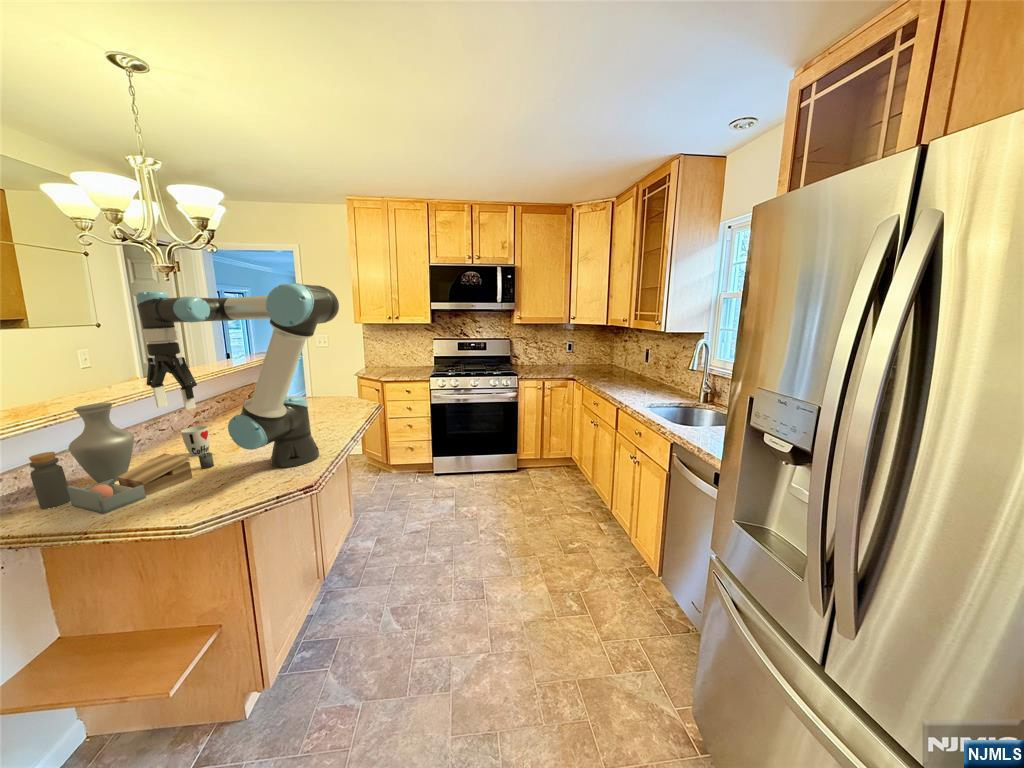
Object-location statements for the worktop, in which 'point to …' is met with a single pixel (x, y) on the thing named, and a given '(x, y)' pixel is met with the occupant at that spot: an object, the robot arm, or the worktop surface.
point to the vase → (102, 444)
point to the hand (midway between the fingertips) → (176, 407)
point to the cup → (196, 439)
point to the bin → (97, 504)
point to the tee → (206, 460)
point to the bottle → (49, 480)
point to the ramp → (158, 473)
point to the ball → (103, 490)
